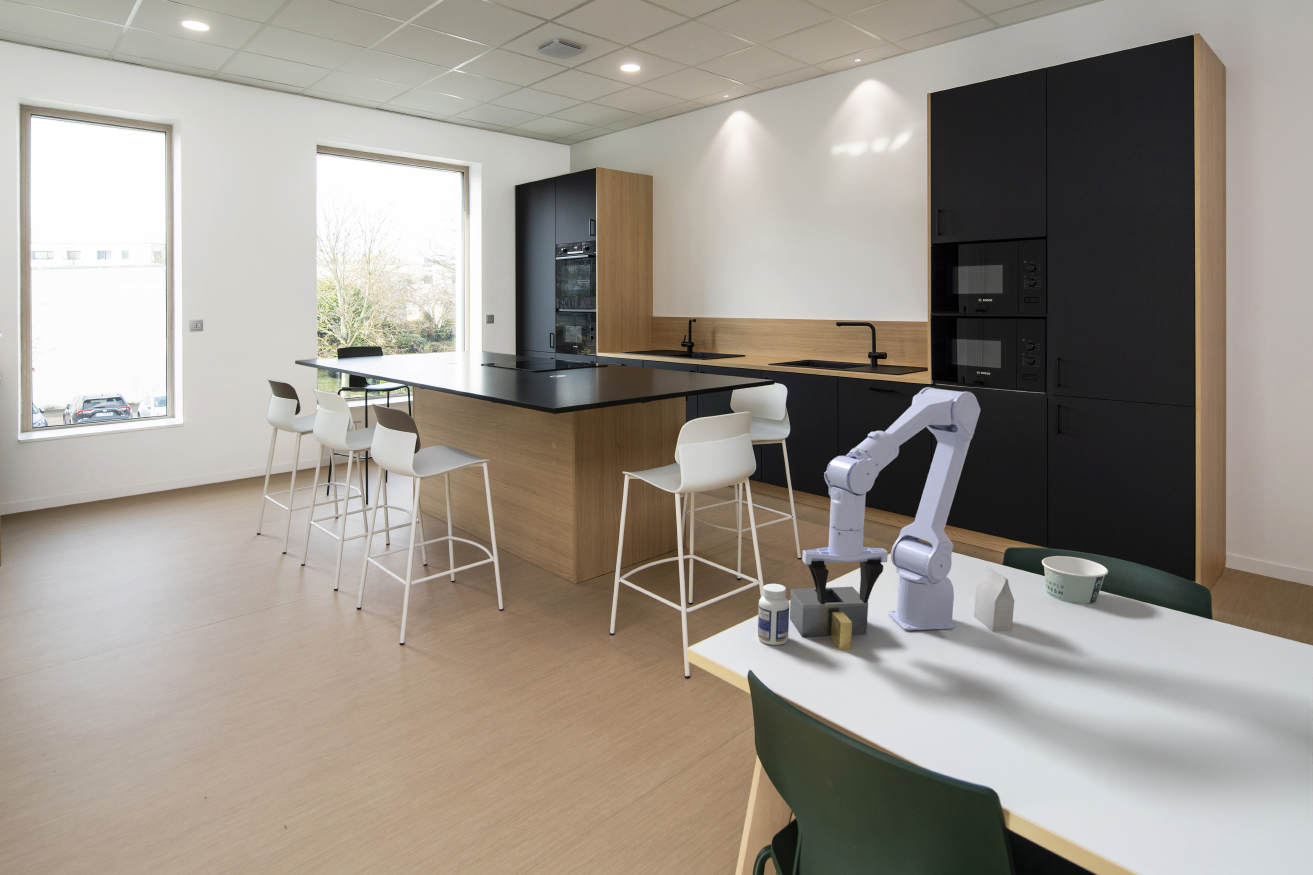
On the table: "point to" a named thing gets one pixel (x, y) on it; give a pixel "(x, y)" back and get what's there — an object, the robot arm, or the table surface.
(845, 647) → the block
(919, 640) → the table surface
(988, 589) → the white gabled box
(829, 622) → the grey slotted block
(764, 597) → the pill bottle
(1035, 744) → the table surface
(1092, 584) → the food container
